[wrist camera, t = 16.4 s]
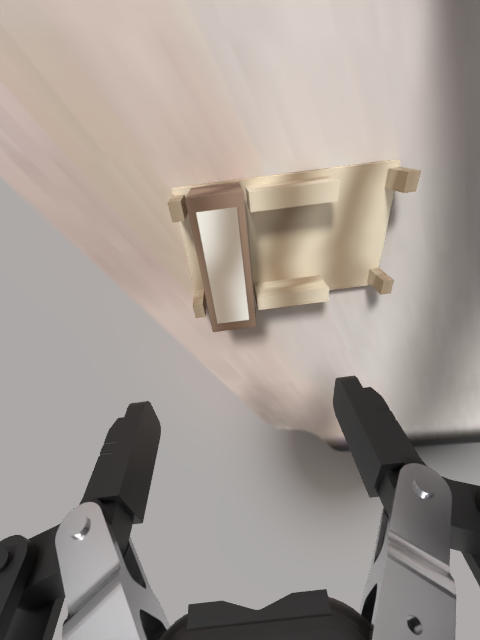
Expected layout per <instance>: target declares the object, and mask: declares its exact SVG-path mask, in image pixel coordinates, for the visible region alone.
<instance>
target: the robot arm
mask: <svg viewBox="0 0 480 640" xmlns="http://www.w3.org/2000/svg"><path fill="white" fill-rule="evenodd" d="M333 407H334V411H335V415H336V417H337V420H338V422H339V424H340V427H341V429H342V432H343V434H344V436H345V439H346V441H347V444H348V446H349V449H350V451H351V453H352V456H353V458H354V461H355V463H356V466H357V468H358V470H359V473H360V475H361V478H362V480H363V483H364V485H365V487H366V490H367V492H368V495H369V497H380V499H381V502H382V504H383V506H384V508H383V512H382V516H381V521H380V526H379V531H378V536H377V541H376V545H375V550H374V555H373V559H372V564H371V568H370V571H369V574H368V578H367V581H366V586H365V589H364V594H363V599H362V604H361V608H360V613H358V612H357V611H355V610H354V609H353V608H351V607H350V606H348V605H346V604H345V603H343V602H340V601H338V600H336V599H334V598H330V597H328V595H327V590H326V589H324V590H315V591H306V592H298V593H291V594H289V595H287V596H286V597H284V598H282V599H280V600H278V601H276V602H274V603H272V604H270V605H268V606H266V607H265V608H263V609H260V610H253V609H250V608H246V607H243V606H239V605H236V604H232V603H228V602H225V601H216V602H207V603H198V604H190V605H189V607H188V614H186V615H184V616H183V617H181V618H180V619H179V620H177V621H176V622H175V623H174V624H173V625H172V626H171V627H170V625H169V623H168V621H167V618H166V616H165V613H164V611H163V609H162V607H161V605H160V603H159V601H158V599H157V598H156V596H155V595H154V593H153V591H152V589H151V587H150V585H149V583H148V580H147V578H146V575H145V573H144V570H143V568H142V565H141V563H140V560H139V558H138V556H137V553H136V551H135V548H134V545H133V543H132V540H131V538H130V533H131V528H132V524H139V523H143V519H144V514H145V509H146V504H147V499H148V494H149V490H150V485H151V480H152V475H153V470H154V465H155V459H156V455H157V450H158V445H159V440H160V435H161V426H160V422H159V420H158V418H157V416H156V414H155V412H154V409H153V407H152V405H151V403H150V402H149V401H146V402H139V403H131V404H130V405H129V406H128V408H127V411H126V414H125V417H123V418H118V419H117V420H116V422H115V423H114V424H113V425H112V427H111V428H110V429H109V431H108V434H107V436H106V439H105V442H104V445H103V447H102V449H101V452H100V456H99V457H98V460H97V462H96V465H95V468H94V471H93V473H92V476H91V478H90V481H89V483H88V486H87V488H86V491H85V494H84V497H83V499H82V501H81V502H80V504H79V506H77V507H76V508H74V509H73V510H72V511H71V512H70V513H69V514H68V515H67V516H66V517H65V518H64V519H63V521H62V522H61V524H59V525H57V526H55V527H53V528H51V529H49V530H47V531H45V532H43V533H41V534H38V535H36V536H34V537H32V538H30V539H26V538H25V537H23V536H21V535H14V536H10V537H8V538H6V539H4V540H2V541H1V542H0V640H52V638H53V635H54V632H55V628H56V625H57V621H58V618H59V615H60V611H61V608H62V605H63V601H64V598H65V597H66V602H67V607H68V617H67V619H66V620H65V621H64V624H63V628H62V637H63V640H455V626H456V587H455V582H454V579H453V578H452V576H451V575H450V570H449V560H450V548H451V549H455V550H459V551H461V552H462V554H463V556H464V558H465V560H466V561H467V563H468V565H469V567H470V569H471V571H472V573H473V575H474V577H475V578H476V580H477V582H478V584H479V586H480V486H477V485H472V484H467V483H463V482H458V481H453V480H449V479H447V478H444V477H442V476H440V475H439V474H438V473H437V472H436V471H434V470H433V469H431V468H429V467H428V466H426V464H425V463H424V462H423V461H422V460H421V458H420V457H419V455H418V454H417V452H416V451H415V449H414V447H413V446H412V444H411V442H410V441H409V439H408V438H407V436H406V434H405V433H404V431H403V430H402V428H401V426H400V425H399V423H398V421H396V419H395V417H394V415H393V413H392V412H391V411H390V410H389V407H388V405H387V404H386V402H385V401H384V399H383V397H382V396H381V395H380V394H378V393H377V392H376V391H375V390H374V389H372V388H371V387H367V388H363V387H362V385H361V384H360V382H359V380H358V379H357V377H356V376H348V377H340V378H336V381H335V388H334V396H333Z"/></svg>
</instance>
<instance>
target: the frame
mask: <svg viewBox="0 0 480 640" xmlns="http://www.w3.org/2000/svg"><path fill="white" fill-rule="evenodd" d="M185 201H186V206H187V210H188V215H189V220H190V225H191V229H192V234H193V239H194V244H195V248H196V253H197V258H198V263H199V267H200V272H201V277H202V282H203V287H204V291H205V296H206V301H207V306H208V310H209V315H210V320H211V325H212V329H213V332H218V331H225V330H233V329H241V328H248V327H256V320H255V313H256V309H255V298H254V287H253V276H252V265H251V254H250V243H249V232H248V221H247V209H246V202H245V200H244V191H243V189H242V187H241V185H240V183H239V182H233V183H226V184H218V185H211V186H203V187H195V188H191V189H190V191H189V192H188V194H187V196H186V198H185Z"/></svg>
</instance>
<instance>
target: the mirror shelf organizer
mask: <svg viewBox="0 0 480 640" xmlns="http://www.w3.org/2000/svg"><path fill="white" fill-rule="evenodd" d="M400 162H401V160H388V161H380V162H372V163H365V164H357V165H349V166H341V167H333V168H325V169H317V170H310V171H302V172H294V173H286V174H278V175H270V176H263V177H255V178H247V179H239V180H231V181H223V182H215V183H208V184H200V185H192V186H184V187H176V188H173V189H172V193H173V197H172V198H171V199H170V200H169V202H168V205H169V210H170V214H171V218H172V222H179V224H180V229H181V233H182V237H183V242H184V246H185V250H186V255H187V259H188V264H189V268H190V272H191V277H192V281H193V285H194V290H195V293H194V300H193V309H194V313H195V317H196V318H200V317H205V316H206V306H207V301H206V296H205V291H204V287H203V282H202V277H201V272H200V267H199V263H198V258H197V253H196V248H195V244H194V239H193V234H192V229H191V225H190V220H189V215H188V210H187V206H186V201H185V198H186V196H187V194H188V192H189V191H190V189H191V188H195V187H203V186H211V185H218V184H226V183H233V182H239V183H240V185H241V187H242V189H243V191H244V200H245V202H246V209H247V221H248V232H249V243H250V254H251V265H252V276H253V287H254V298H255V300H256V304H257V308H258V310H263V309H270V308H278V307H286V306H294V305H302V304H310V303H318V302H326V301H328V298H329V290H335V289H342V288H350V287H358V286H366V285H371V286H372V287H374V288H375V289H376V290H377V291H378V292H379V293H380V294H389V293H391V290H392V286H393V282H394V280H393V279H392V278H391V277H390V276H388V275H387V274H386V273H385V272H383V271H382V270H381V269H380V268H379V264H380V259H381V254H382V249H383V244H384V239H385V235H386V230H387V225H388V220H389V215H390V210H391V206H392V201H393V196H394V191H395V190H396V191H399V192H403V193H407V192H414V191H416V189H417V185H418V181H419V177H420V173H421V170H415V169H409V168H402V167H400Z"/></svg>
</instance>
